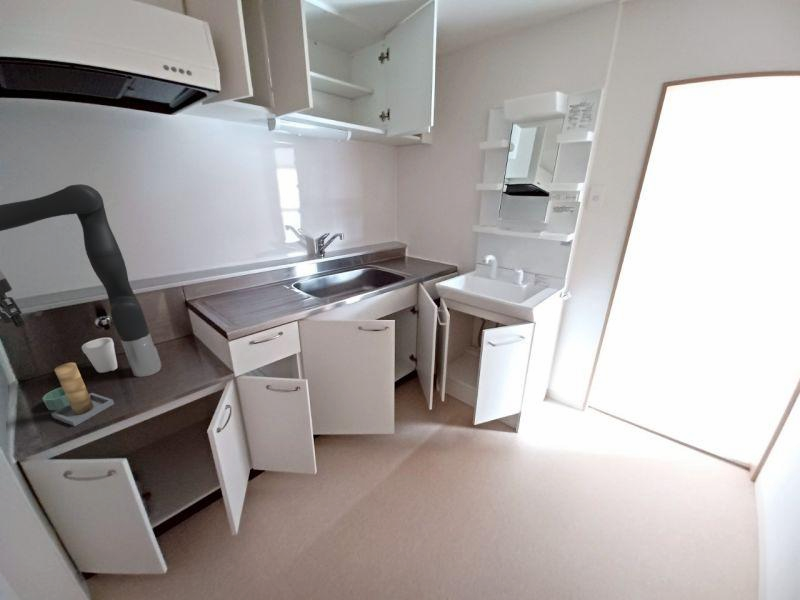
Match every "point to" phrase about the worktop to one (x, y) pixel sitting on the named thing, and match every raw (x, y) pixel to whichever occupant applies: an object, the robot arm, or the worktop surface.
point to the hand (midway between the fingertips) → (15, 324)
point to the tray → (72, 419)
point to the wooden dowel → (74, 388)
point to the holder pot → (55, 399)
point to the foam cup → (101, 354)
